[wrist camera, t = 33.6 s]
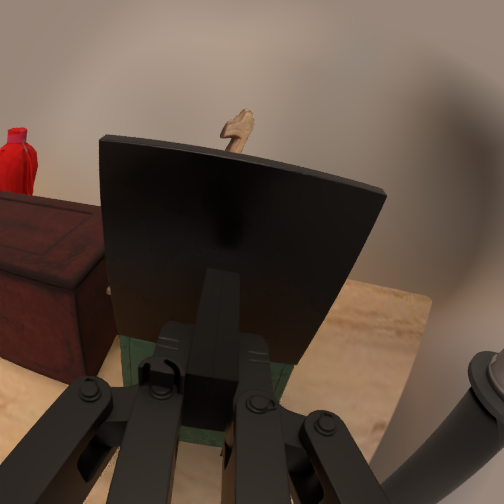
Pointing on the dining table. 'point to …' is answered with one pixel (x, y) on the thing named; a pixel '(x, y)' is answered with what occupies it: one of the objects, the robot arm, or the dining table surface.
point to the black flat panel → (227, 237)
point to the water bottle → (17, 163)
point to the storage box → (53, 287)
